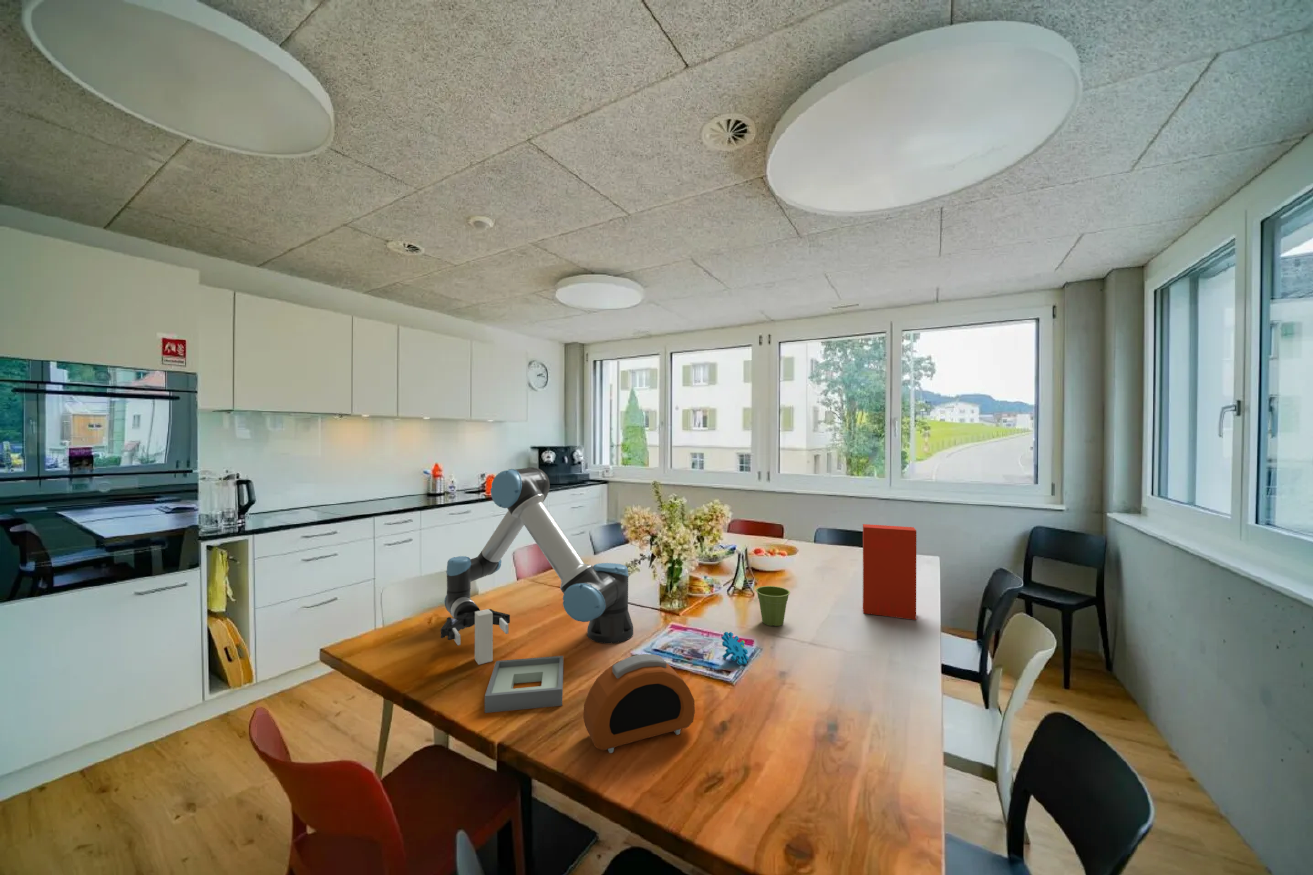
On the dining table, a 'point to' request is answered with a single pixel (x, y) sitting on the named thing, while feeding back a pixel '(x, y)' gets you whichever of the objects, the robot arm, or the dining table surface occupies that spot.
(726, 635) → the gear
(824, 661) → the dining table surface
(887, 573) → the file binder
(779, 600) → the plant pot
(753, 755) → the dining table surface
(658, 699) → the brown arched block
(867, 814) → the dining table surface
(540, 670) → the bore box
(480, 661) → the peg
